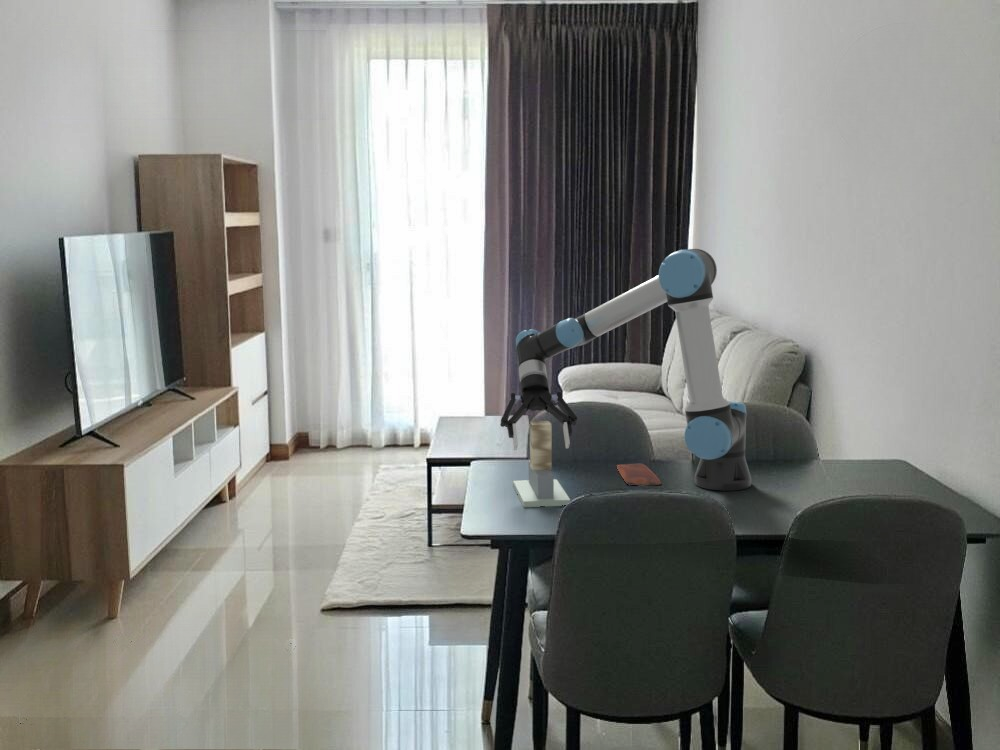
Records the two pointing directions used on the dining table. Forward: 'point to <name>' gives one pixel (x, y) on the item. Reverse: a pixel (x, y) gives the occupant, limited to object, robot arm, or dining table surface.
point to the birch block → (540, 445)
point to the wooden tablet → (638, 474)
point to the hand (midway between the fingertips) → (541, 446)
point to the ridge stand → (540, 490)
